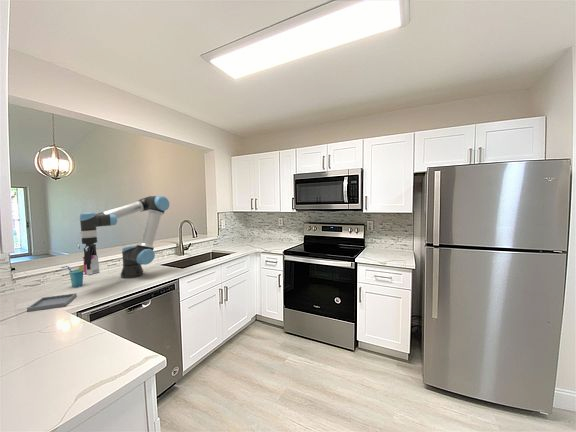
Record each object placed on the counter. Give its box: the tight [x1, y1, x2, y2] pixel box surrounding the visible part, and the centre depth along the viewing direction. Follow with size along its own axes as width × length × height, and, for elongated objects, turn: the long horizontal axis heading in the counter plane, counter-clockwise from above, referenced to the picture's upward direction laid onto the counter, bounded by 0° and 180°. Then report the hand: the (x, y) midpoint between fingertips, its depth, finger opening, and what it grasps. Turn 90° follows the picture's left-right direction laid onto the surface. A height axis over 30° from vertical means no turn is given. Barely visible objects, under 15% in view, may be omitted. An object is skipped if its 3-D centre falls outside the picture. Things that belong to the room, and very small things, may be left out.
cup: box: [60, 264, 85, 288], centre depth 165 cm, size 14×8×15 cm, turn 129°
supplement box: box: [82, 254, 101, 276], centre depth 154 cm, size 6×6×12 cm
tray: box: [26, 292, 78, 313], centre depth 137 cm, size 16×16×2 cm
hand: (91, 272), depth 154 cm, fingers closed on supplement box, 8 cm apart
